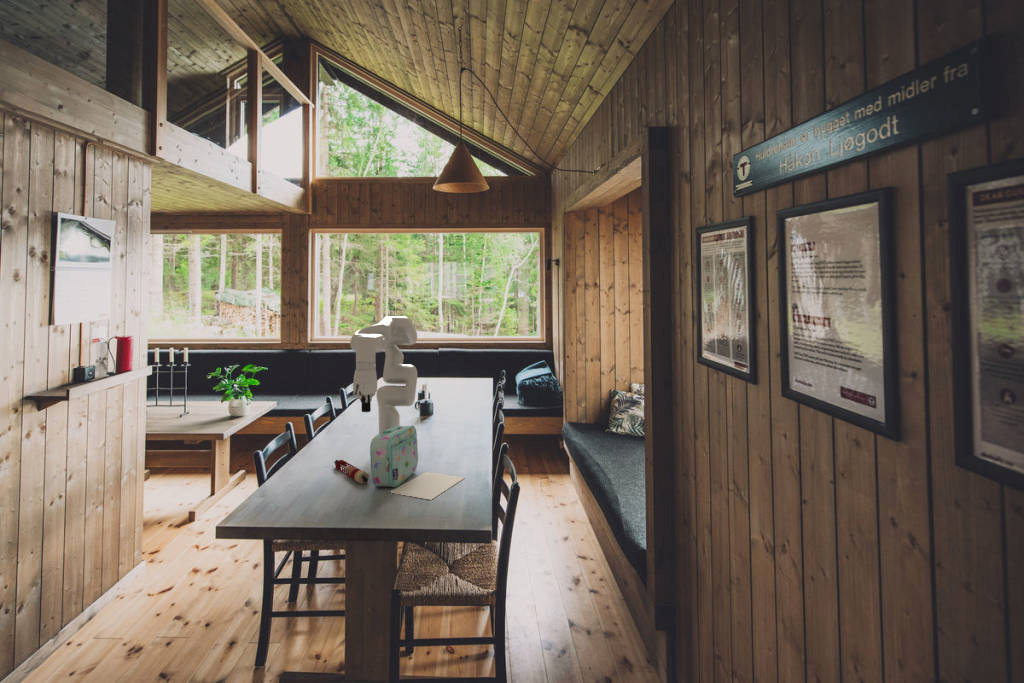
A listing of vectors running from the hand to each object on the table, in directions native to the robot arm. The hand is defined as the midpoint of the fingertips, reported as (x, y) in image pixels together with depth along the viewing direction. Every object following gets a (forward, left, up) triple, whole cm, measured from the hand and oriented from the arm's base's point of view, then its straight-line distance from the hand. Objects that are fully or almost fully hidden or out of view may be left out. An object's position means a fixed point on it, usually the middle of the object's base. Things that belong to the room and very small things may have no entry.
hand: (366, 411), depth 212 cm
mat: (+29, 0, -26) cm, 39 cm away
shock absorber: (-6, -3, -27) cm, 27 cm away
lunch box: (+14, 0, -27) cm, 30 cm away
